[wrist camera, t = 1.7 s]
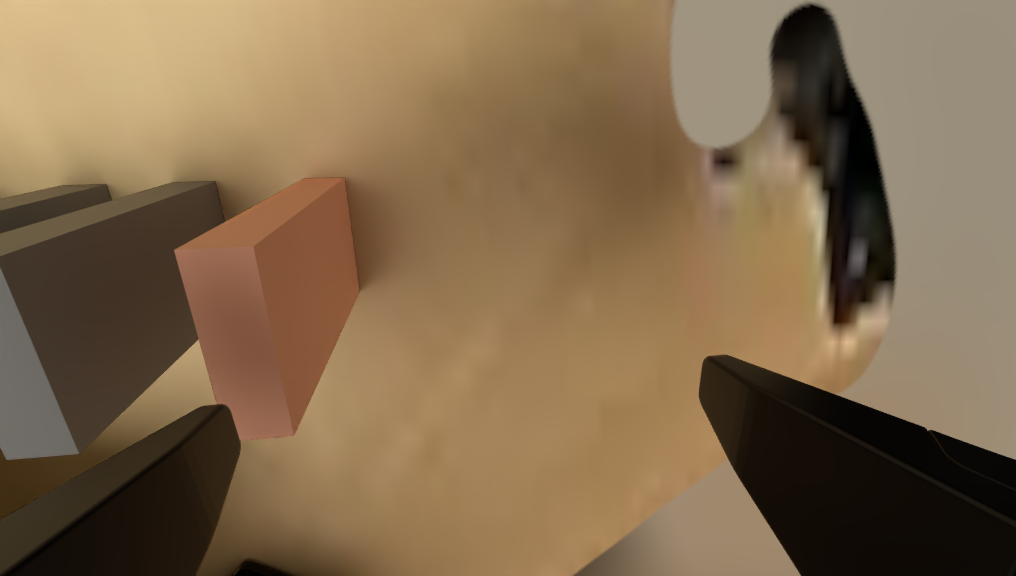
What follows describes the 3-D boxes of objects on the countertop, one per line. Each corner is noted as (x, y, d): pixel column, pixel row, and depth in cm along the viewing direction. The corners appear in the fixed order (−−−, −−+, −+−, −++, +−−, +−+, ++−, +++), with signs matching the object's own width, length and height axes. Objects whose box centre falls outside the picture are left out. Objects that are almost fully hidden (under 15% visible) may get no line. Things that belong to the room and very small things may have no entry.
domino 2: (215, 181, 19) (-4, 257, 10) (242, 297, 21) (79, 453, 12) (172, 182, 19) (-92, 261, 10) (203, 299, 21) (6, 460, 11)
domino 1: (344, 177, 20) (253, 246, 10) (359, 290, 21) (293, 436, 12) (304, 178, 19) (174, 249, 10) (322, 292, 21) (227, 441, 12)
